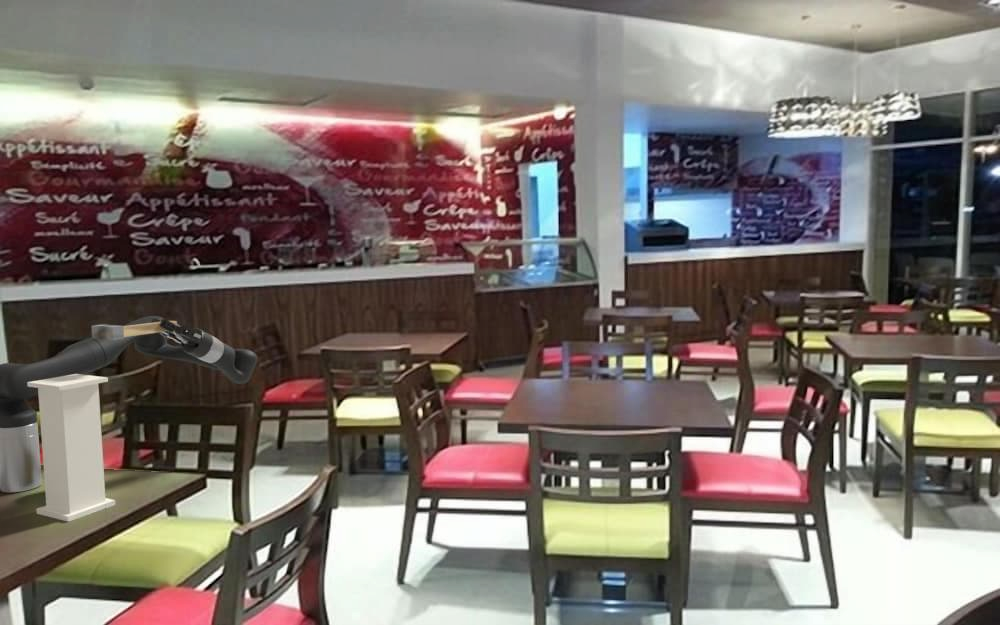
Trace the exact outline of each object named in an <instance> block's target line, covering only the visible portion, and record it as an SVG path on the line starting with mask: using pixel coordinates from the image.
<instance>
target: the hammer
mask: <svg viewBox="0 0 1000 625" xmlns="http://www.w3.org/2000/svg"><path fill="white" fill-rule="evenodd" d="M169 321H170V322H172V323H173V324H174V325H175V324H178V322H177V320H169ZM160 323H161V322H155V323H146V324H138V325H130V326H124V325H118V324H117V325H116V324H102V323H101V324H96V325H91V327H90V328H91V338H94V339H106V340H117V339H124V337H129V336H136V335H143V334H151V333H158V332H165V331H168V330H166V329H164V328H162V327H161V326H160Z"/></svg>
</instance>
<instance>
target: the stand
mask: <svg viewBox="0 0 1000 625" xmlns="http://www.w3.org/2000/svg"><path fill="white" fill-rule="evenodd" d="M107 382H109V378H108V377H107V376H97V375H89V374H83V375H82V374H73V375H67V376H61V377H55V378H49V379H44V380H38V381H32V382H27V386H28V387H35V388H38V394H37V395H38V405H39V407H38V408H39V417H40V418H39V419H40V420H39V421H40V422H39V424H40V434H41V435H40V436H41V448H42V449H41V450H42V451H41V452H42V462H43V463H42V464H43V476H44V480H43V481H44V488H45V489H44V493H45V503H46V504H45V505H44V506H41V507H37V508H36V514H37V515H41V516H44V517H49V518H53V519H55V520H60V521H64V522H71V521H74V520H77V519H80V518H83V517H87V516H88V515H92V514H93V513H97V512H99V511H103V510H105V508H106V509H108V508H110V507H111V508H112V507H113V506H116V500H115V499H112V498H107V497H106V487H105V486H106V485H105V471H104V470H105V469H104V455H103V454H104V453H103V452H104V451H103V440H102V438H103V437H102V423H101V421H102V419H101V406H100V405H101V404H100V402H101V401H100V389H99V384H103V383H107Z"/></svg>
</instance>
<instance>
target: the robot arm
mask: <svg viewBox="0 0 1000 625" xmlns="http://www.w3.org/2000/svg"><path fill="white" fill-rule="evenodd" d="M170 321H171V320H167V319H165V318H163V317H161V316H159V315H158V316H157V315H150V316H144V317H141V318H138V319H136V320H133V321H131V322H129V323H126V324H124V325H123V326H130V325H138V324H146V323H155V322H161V323H160V326H161V327H162V328H164V329H166V330H168V331H165V332H158V333H151V334H143V335H136V336H129V337H124V339H117V340H106V339H94V338H92V337H89V338H85V339H83V340H80V341H77V342H75V343H73V344H70V345H68V346H67V347H65V348H64V349H63V350H62V351H60V352H59V353H57V354H56V355H54V356H53V357H49V358H48V359H44V360H39V361H37V362H32V363H27V364H24V363H22V364H20V363H14V362H5V363H4V362H3V363H0V492H3V493H20V492H26V491H29V490H34V489H36V488H38V487H40V486H42V484H43V482H42V478H43V477H42V467H41V466H42V465H41V455H40V454H41V452H40V438H39V436H40V435H39V426H38V414H37V411H36V410H35V409H34V408H33V407H32V406H31V405H30V403H29V401H28V399H29V398H32V397H35V396H36V395H39V394H38V388H35V387H28V386H27V382H32V381H38V380H44V379H49V378H55V377H61V376H67V375H73V374H82V375H87V374H89V373H92V372H95V371H97V370H100V369H102V368H105V367H107V366H108V365H110V364H111V363H113V361H114V360H116V358H118V356H120V354H122V352H123V351H124V350H125V349H126V348H127V347H128V346H129V345H130V344H132V343H134V345H133V346H134V349H135V350H136V351H137V352H138V353H141V354H144V355H146V356H153V357H158V358H163V359H164V358H165V359H171V360H178V361H184V362H189V363H194V364H196V365H199V366H203V367H205V368H208V369H213V370H215V371H221V372H222V373H223V375H224V376H225V377H227V378H228V379H229V380H230V381H231V382H233V383H235V384H239V385H244V384H246V383H248V382H249V380H250V379H251V376H252V374H253V373H254V369H255V368H256V366H257V363H258V359H259V358H258V355H257V353H255V352H254V351H252V350H249V349H245V348H233V347H231V346H230V345H228V344H226V343H224V342H223V341H221V340H219V339H218V338H216V337H215V336H213V335H211V334H210V333H208V332H207V331H204V330H203V329H200V328H191V327H188V326H185V325H184V324H181V325H179V324H178V323H177V324H175V325H174V324H173V323H172V322H170ZM169 339H172V340H173V341H174V342H176V343H178V344H181V345H180V346H176V345H175V346H174V345H171V344H169V343H168V340H169Z"/></svg>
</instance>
